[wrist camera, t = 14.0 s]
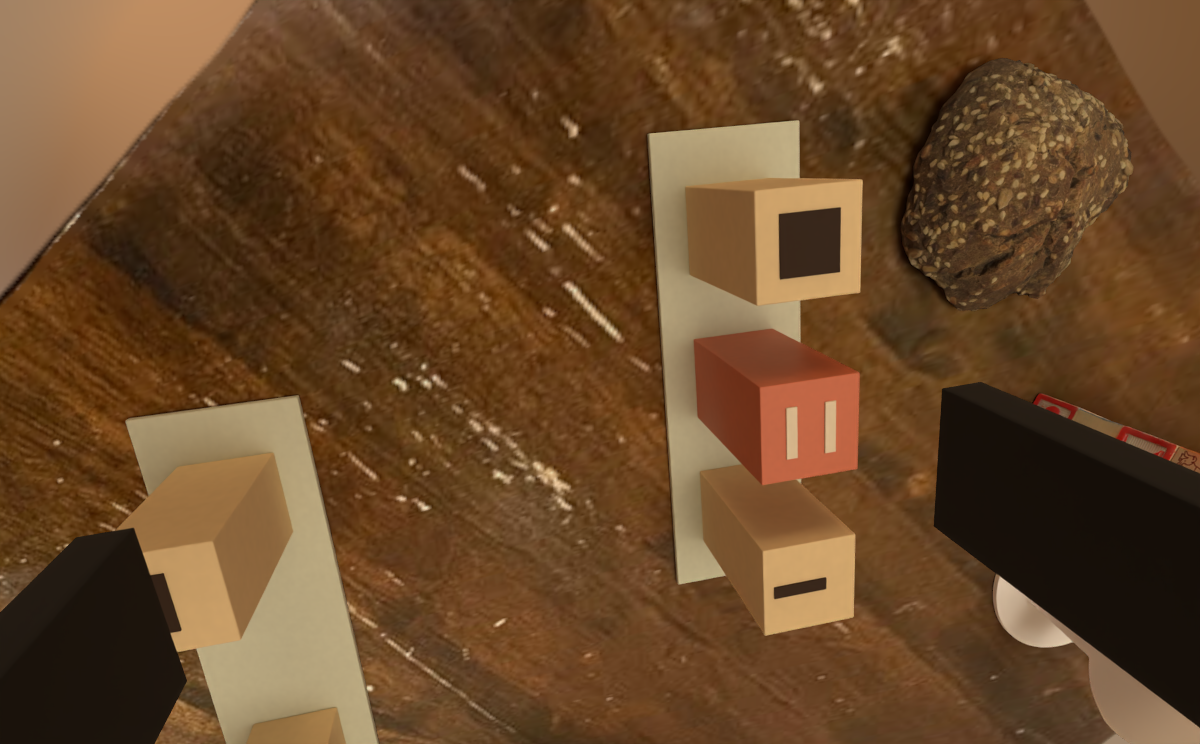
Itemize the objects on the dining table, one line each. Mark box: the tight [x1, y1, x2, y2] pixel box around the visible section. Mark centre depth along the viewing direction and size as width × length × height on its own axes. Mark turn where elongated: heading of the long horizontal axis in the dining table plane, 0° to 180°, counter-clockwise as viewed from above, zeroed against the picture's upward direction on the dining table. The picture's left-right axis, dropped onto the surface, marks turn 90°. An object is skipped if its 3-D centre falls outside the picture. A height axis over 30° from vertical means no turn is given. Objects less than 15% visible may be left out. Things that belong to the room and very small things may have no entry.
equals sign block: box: [694, 329, 860, 485], centre depth 34 cm, size 5×5×9 cm
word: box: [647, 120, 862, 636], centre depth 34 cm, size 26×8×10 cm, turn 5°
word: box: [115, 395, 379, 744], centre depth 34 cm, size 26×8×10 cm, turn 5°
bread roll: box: [900, 58, 1133, 311], centre depth 37 cm, size 13×12×5 cm
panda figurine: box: [993, 574, 1200, 744], centre depth 41 cm, size 12×11×15 cm
